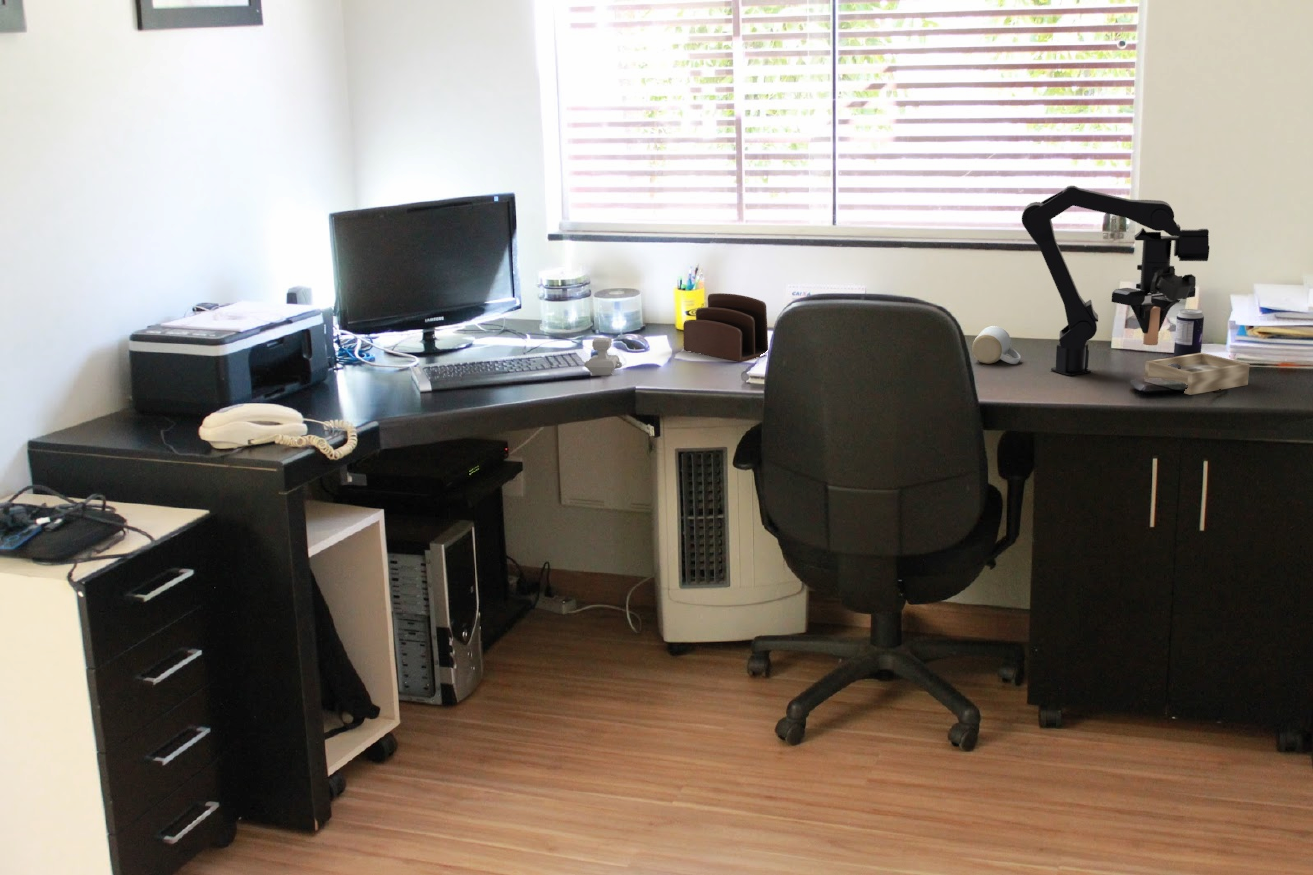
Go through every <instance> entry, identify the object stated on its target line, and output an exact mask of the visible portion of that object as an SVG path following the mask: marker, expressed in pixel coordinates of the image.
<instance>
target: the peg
mask: <svg viewBox="0 0 1313 875" xmlns="http://www.w3.org/2000/svg"><path fill="white" fill-rule="evenodd" d="M1159 319H1160V307H1153V308H1152V309H1151V312H1150V322H1149V329H1148V333H1143V338H1142V339H1143V341H1142V342H1143V343H1142V344H1143V345H1146V346H1158V345H1159V344H1158V343H1159V334H1160V333H1159V332H1160V331H1159Z"/></svg>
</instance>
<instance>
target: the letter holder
mask: <svg viewBox="0 0 1313 875" xmlns="http://www.w3.org/2000/svg"><path fill="white" fill-rule="evenodd" d="M767 314H768V313H767V303H766V302H765V301H763V300H760V299H757V298H755V297H749V296H745V295H741V294H734V293H722V292H720V293H718V292H717V293H710V294H708V295H707V306H706V307H705V306H704V307H698V308H697V309H695V319H688V320H687V319H686V320H685V321H684V322H683V330H682V331H683V341H682V342H683V351H684V352H688V351H691V352H690V353H693V352H695V353H694V354H698V353H701V354H700V355H703V354H704V355H703V356H708V355H709V357H714V358H719V359H722V360H723V359H724V360H729V361H732V362H733V361H734V362H740V363H742V362H746V361H750V360H753V359H754V358H755V359H757V358H756V357H759V358H761V357H760V355H761V354H763V353H765V352H766V351H767V350H768V351H769V337H768V317H767V316H768V315H767Z"/></svg>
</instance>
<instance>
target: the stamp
mask: <svg viewBox="0 0 1313 875" xmlns="http://www.w3.org/2000/svg"><path fill="white" fill-rule="evenodd" d="M612 338H613V337H594V338H593V340H592V345H591V346H592V349H593V350H594V351H597V354H594V355H592V356H591V358H590V359H588V360H587V361H585V362H584V363H583V364H584V365H583V366H584V367H585V368H586V369H587V370H588V371H589V372H590V373H591V374H592V376H611V375H612V374H613V373H614V371H615V370H616V369H620V368H622V367H623V364H622V362H621V361H620V357H619V356H618V355H617V354H615V355H614V354H608V350H609V349H610V348H611V346H612V343H613V342H612Z"/></svg>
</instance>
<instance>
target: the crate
mask: <svg viewBox="0 0 1313 875" xmlns="http://www.w3.org/2000/svg"><path fill="white" fill-rule="evenodd" d="M1171 364H1178V365H1180V366H1181V369H1178V368H1175V367H1171V366H1168V365H1171ZM1250 367H1251V366H1250V363H1247V362H1242V361H1238V360H1234V359H1231V358H1226V357H1221V356H1217V355H1213V354H1210V353H1207V352H1206V353H1205V352H1201V353H1196V354H1190V355H1183V356H1177V357H1174V356H1173V357H1166V358H1158V359H1152V360H1147V361H1145V368H1144V379H1149V378H1161V379H1165V380H1175V381H1180V382H1183V383H1185V384H1186V385H1188V388H1187V389H1185V391H1184V393H1183V394H1186V395H1190V396H1191V395H1197V394H1203V393H1208V392H1214V391H1220V390H1219V389H1221V390H1227V389H1231V388H1238V387H1242V386H1244V387H1245V386H1248V384H1249V374H1250Z"/></svg>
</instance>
